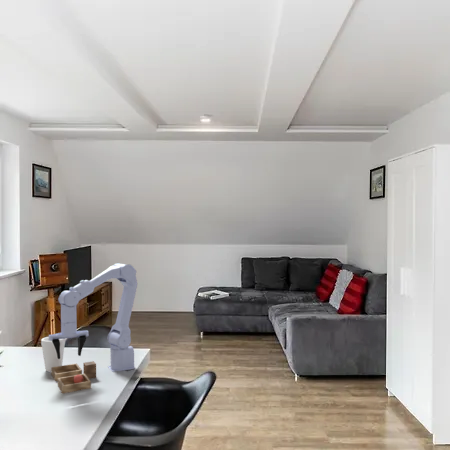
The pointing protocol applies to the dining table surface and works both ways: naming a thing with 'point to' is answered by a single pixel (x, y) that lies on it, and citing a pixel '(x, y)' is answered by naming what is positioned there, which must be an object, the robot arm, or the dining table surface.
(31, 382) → the dining table surface
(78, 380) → the red ball
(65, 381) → the box with ball
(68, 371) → the box empty
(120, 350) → the robot arm
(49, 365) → the foam cup
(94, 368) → the walnut block
